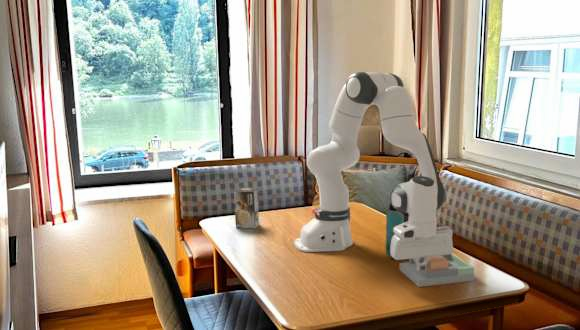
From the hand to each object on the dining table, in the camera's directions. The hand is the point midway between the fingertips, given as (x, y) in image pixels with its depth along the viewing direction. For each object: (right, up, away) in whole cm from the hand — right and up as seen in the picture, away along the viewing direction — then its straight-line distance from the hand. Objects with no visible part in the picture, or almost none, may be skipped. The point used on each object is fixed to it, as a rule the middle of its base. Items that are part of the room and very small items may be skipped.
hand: (421, 269), depth 190 cm
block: (+5, -1, +1) cm, 5 cm away
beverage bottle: (-5, 0, +22) cm, 23 cm away
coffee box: (-60, +7, +63) cm, 88 cm away
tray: (+6, -3, +5) cm, 8 cm away
